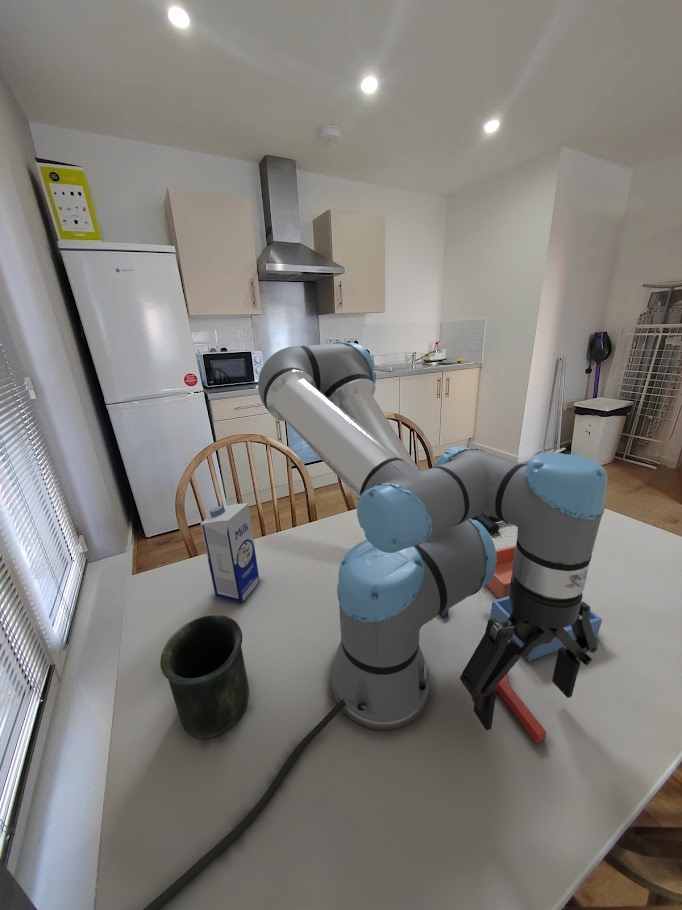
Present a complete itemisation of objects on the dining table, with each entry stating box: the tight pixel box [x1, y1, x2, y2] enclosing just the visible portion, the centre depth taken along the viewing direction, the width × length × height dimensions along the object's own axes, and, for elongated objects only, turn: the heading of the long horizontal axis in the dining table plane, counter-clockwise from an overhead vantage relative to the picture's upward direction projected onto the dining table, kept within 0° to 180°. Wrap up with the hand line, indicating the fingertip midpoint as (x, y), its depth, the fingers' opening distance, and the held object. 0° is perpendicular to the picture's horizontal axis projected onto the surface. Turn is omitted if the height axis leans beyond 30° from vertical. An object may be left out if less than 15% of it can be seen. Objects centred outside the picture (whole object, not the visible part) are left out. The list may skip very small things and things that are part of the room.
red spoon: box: [494, 672, 547, 744], centre depth 53 cm, size 12×4×2 cm, turn 17°
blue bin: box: [489, 596, 603, 662], centre depth 64 cm, size 15×10×4 cm, turn 107°
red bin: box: [485, 545, 516, 599], centre depth 77 cm, size 15×10×4 cm, turn 107°
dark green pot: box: [159, 614, 250, 739], centre depth 53 cm, size 11×15×12 cm
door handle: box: [472, 513, 503, 534], centre depth 98 cm, size 3×20×16 cm
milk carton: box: [200, 503, 261, 604], centre depth 74 cm, size 7×7×20 cm
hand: (523, 703), depth 50 cm, fingers open, 13 cm apart
